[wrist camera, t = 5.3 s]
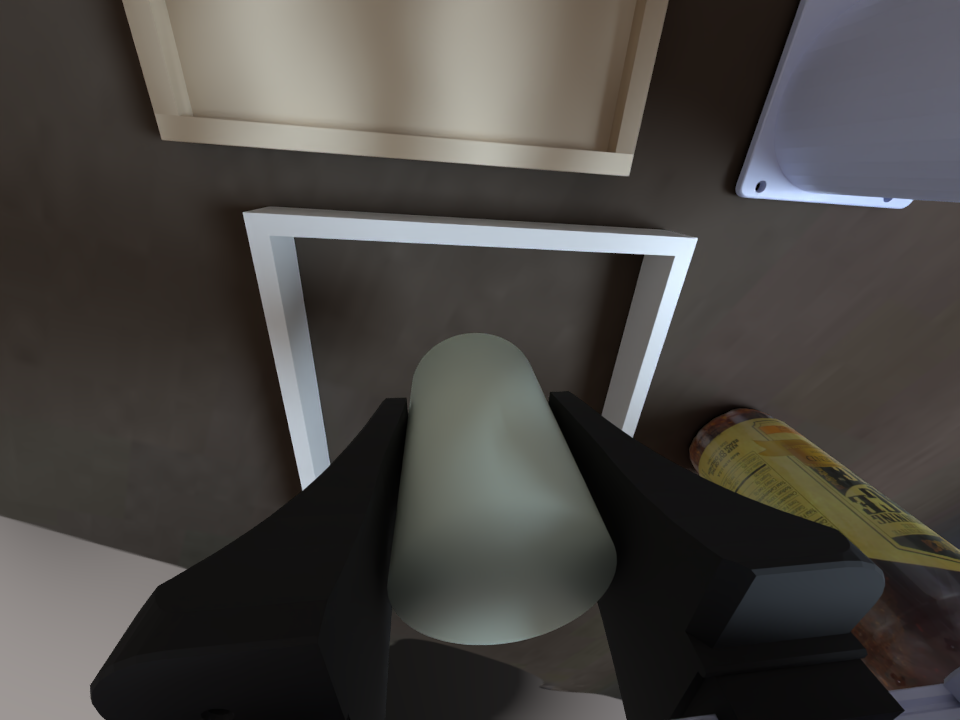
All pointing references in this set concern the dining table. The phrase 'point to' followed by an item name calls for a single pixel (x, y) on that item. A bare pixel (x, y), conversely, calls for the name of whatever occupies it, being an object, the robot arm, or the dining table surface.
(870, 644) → the sauce bottle
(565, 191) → the dining table surface
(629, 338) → the white hollow square frame
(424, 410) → the sage cylinder
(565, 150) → the birch tray
